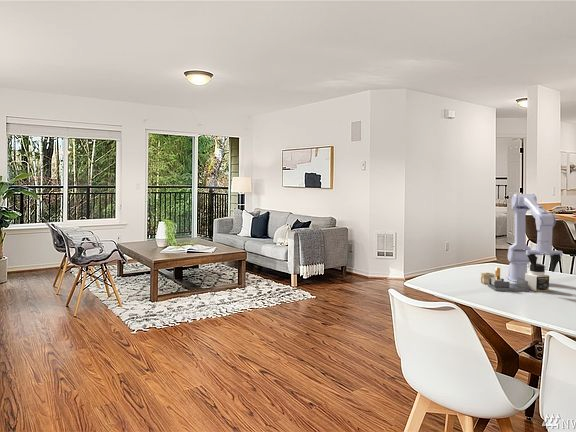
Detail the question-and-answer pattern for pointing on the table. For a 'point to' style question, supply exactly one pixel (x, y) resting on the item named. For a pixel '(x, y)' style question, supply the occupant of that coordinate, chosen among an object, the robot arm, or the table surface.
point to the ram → (496, 276)
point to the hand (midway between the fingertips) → (543, 271)
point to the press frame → (510, 285)
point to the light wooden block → (486, 277)
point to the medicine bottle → (537, 279)
